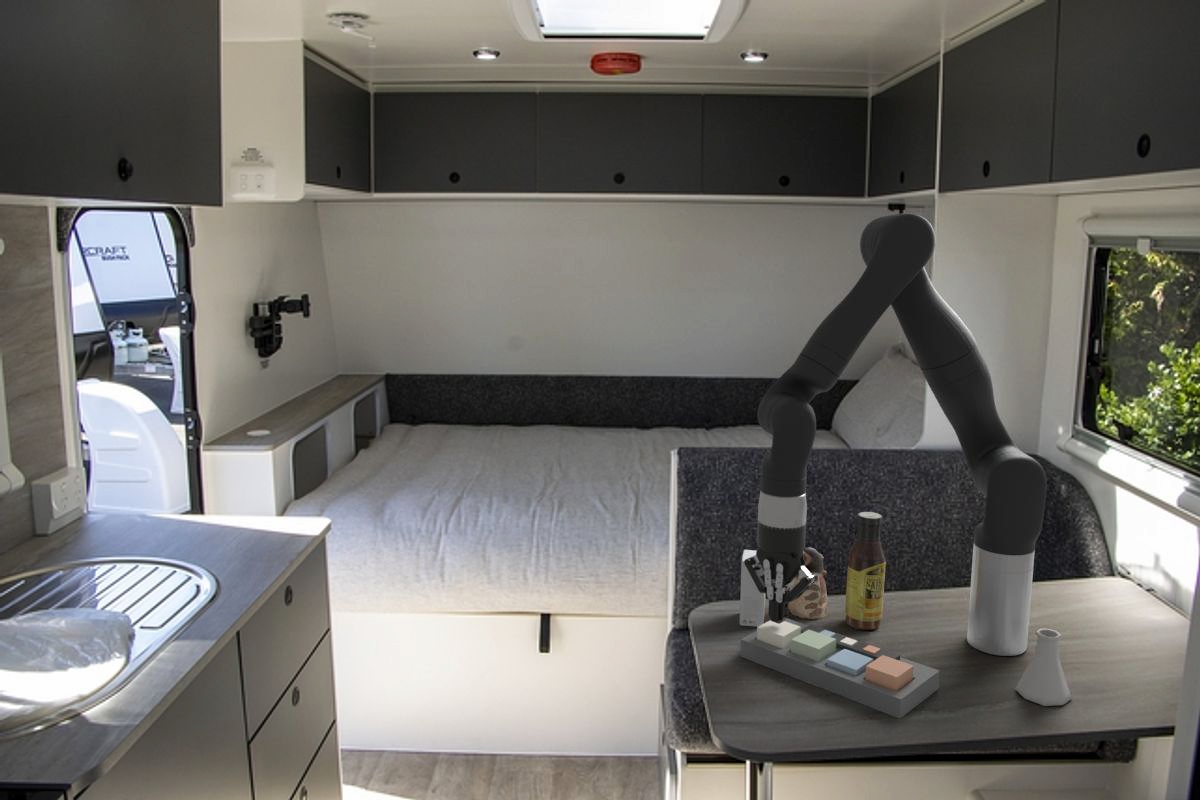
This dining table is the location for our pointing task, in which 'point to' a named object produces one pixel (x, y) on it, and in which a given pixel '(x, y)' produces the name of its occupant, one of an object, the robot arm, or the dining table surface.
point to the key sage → (813, 645)
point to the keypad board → (841, 681)
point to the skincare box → (750, 597)
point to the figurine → (811, 589)
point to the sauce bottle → (866, 575)
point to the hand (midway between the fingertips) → (777, 620)
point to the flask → (1045, 673)
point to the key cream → (778, 633)
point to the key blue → (849, 662)
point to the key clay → (889, 673)
